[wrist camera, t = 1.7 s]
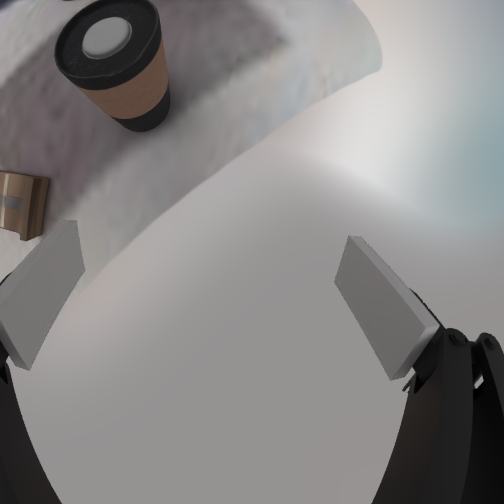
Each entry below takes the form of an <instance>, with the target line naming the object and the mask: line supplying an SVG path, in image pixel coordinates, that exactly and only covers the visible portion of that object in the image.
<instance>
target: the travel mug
mask: <svg viewBox="0 0 504 504" xmlns="http://www.w3.org/2000/svg"><path fill="white" fill-rule="evenodd" d="M54 56H55V62H56V65H57V67H58V68H59V70H60V71H61V72H62V73H63V74H64V75H65V76H66V77H67V78H68V79H69V80H70V81H71V82H72V83H73V84H74V85H76V86H77V87H78V88H79V89H80V90H81V91H82V92H83V93H84V94H85V95H87V96H88V97H89V98H90V99H91V100H92V101H93V102H94V103H95V104H96V105H97V106H99V107H100V108H101V109H102V110H103V111H104V112H105V113H106V114H108V115H109V116H111V117H112V118H113V119H115V120H116V121H117V122H119V123H120V124H122V125H123V126H124V127H126V128H128V129H130V130H132V131H139V132H140V131H147V130H150V129H152V128H154V127H156V126H157V125H159V124H160V123H161V122H162V121H163V120H164V118H165V117H166V115H167V113H168V111H169V107H170V95H169V79H168V72H167V66H166V60H165V53H164V47H163V40H162V33H161V26H160V19H159V14H158V11H157V9H156V7H155V6H154V5H153V4H152V3H151V2H150V1H149V0H98V1H95V2H93V3H92V4H90V5H88V6H86V7H85V8H83V9H82V10H81V11H79V12H78V13H77V14H76V15H75V16H74V17H73V18H72V19H71V20H70V21H69V22H68V23H67V24H66V26H65V27H64V28H63V30H62V31H61V33H60V35H59V37H58V39H57V42H56V46H55V54H54Z"/></svg>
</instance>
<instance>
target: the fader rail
mask: <svg viewBox="0 0 504 504" xmlns="http://www.w3.org/2000/svg"><path fill="white" fill-rule="evenodd" d="M48 182H49V178H43V177H37V176H31V175H25V174H19V173H13V172H7V171H0V228H2V229H6V230H9V231H13V232H17V233H20V240H23V241H28V240H31V239H33V238H35V237H37V236H40V235H41V234H42V224H43V215H44V207H45V200H46V194H47V188H48Z"/></svg>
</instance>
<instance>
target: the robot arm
mask: <svg viewBox="0 0 504 504" xmlns="http://www.w3.org/2000/svg"><path fill="white" fill-rule="evenodd" d="M84 271H85V267H84V262H83V257H82V252H81V246H80V240H79V234H78V227H77V221H76V220H64V221H63V222H62V223H60V224H59V225H58V226H57V227H56V228H55V229H54V230H53V231H52V232H51V233H50V234H49V235H48V236H46V237H45V238H44V239H43V240H42V241H41V242H40V243H39V244H38V245H37V246H36V247H35V248H34V249H33V250H32V251H31V252H30V253H29V254H28V255H27V257H26V258H25V259H24V260H23V261H22V262H21V263H20V264H19V265H18V266H17V267H16V268H15V270H14V271H13V272H11V273H10V274H8V275H7V276H6V277H5V278H4V279H3V280H2V282H1V283H0V504H62V503H61V502H60V500H59V498H58V496H57V495H56V493H55V491H54V489H53V488H52V486H51V484H50V482H49V480H48V479H47V476H46V474H45V472H44V470H43V468H42V466H41V464H40V462H39V459H38V457H37V455H36V453H35V450H34V448H33V446H32V443H31V440H30V438H29V435H28V432H27V430H26V427H25V424H24V421H23V418H22V415H21V412H20V408H19V405H18V402H17V398H16V394H15V391H14V387H13V382H12V378H11V374H10V369H9V366H8V364H7V363H6V360H7V358H8V356H10V358H11V360H12V361H13V363H14V364H15V366H17V367H20V368H23V369H26V370H30V369H31V367H32V365H33V362H34V360H35V358H36V356H37V354H38V352H39V350H40V348H41V346H42V344H43V342H44V340H45V338H46V336H47V334H48V332H49V330H50V328H51V326H52V325H53V323H54V321H55V319H56V317H57V316H58V314H59V312H60V310H61V309H62V307H63V305H64V303H65V302H66V300H67V298H68V297H69V295H70V293H71V292H72V290H73V289H74V287H75V285H76V284H77V282H78V281H79V279H80V278H81V276H82V274H83V273H84ZM334 282H335V284H336V286H337V287H338V289H339V291H340V292H341V294H342V296H343V297H344V299H345V301H346V302H347V304H348V306H349V308H350V309H351V311H352V312H353V314H354V316H355V318H356V320H357V321H358V323H359V325H360V326H361V328H362V330H363V332H364V333H365V335H366V337H367V339H368V341H369V342H370V344H371V346H372V348H373V350H374V351H375V353H376V355H377V357H378V359H379V360H380V362H381V364H382V366H383V368H384V370H385V372H386V374H387V376H388V377H389V379H390V381H391V380H394V379H399V378H402V377H405V376H406V374H407V373H408V372H409V370H410V369H411V368H412V367H413V369H414V370H415V372H416V373H415V374H414V375H413V376H412V378H411V379H410V380H409V381H408V383H407V384H406V385H405V386H404V388H403V390H402V391H405V390H406V389H407V388H408V387H409V386H410V388H409V391H408V398H407V402H406V406H405V410H404V415H403V418H402V422H401V426H400V430H399V433H398V436H397V439H396V442H395V446H394V449H393V452H392V455H391V458H390V460H389V463H388V466H387V468H386V471H385V474H384V476H383V479H382V481H381V484H380V486H379V488H378V491H377V493H376V496H375V497H374V500H373V502H372V504H504V354H503V351H502V349H501V346H500V344H499V342H498V341H497V340H496V339H495V337H494V336H492V335H491V334H488V333H481V334H480V336H479V337H478V339H477V340H476V342H472V341H469V340H468V339H467V338H466V336H465V335H463V333H462V332H460V331H458V330H457V329H453V328H447V329H445V328H444V326H443V325H442V324H441V323H440V321H439V320H438V319H437V317H436V316H435V315H434V314H433V313H432V311H431V310H430V309H428V307H427V305H426V304H425V303H423V301H422V299H420V297H419V296H418V295H417V294H416V293H415V292H414V291H412V290H411V289H410V288H408V287H407V285H406V284H405V283H404V282H403V281H402V280H401V279H400V277H399V276H398V275H397V274H396V273H395V272H394V271H393V270H392V269H391V267H390V266H389V265H388V264H387V263H386V262H385V261H384V260H383V259H382V258H381V257H380V256H379V255H378V254H377V253H376V252H375V250H373V248H372V247H371V246H370V245H369V244H367V242H366V241H365V240H364V239H363V238H362V237H357V236H348V239H347V243H346V246H345V250H344V253H343V256H342V259H341V262H340V266H339V269H338V272H337V275H336V278H335V281H334ZM481 376H483V380H484V381H483V382H482V384H481V385H480V386H479V387H478V388H477V389H476V388H475V386H474V384H475V383H476V382H477V381H478V379H479V378H480V377H481Z"/></svg>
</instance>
